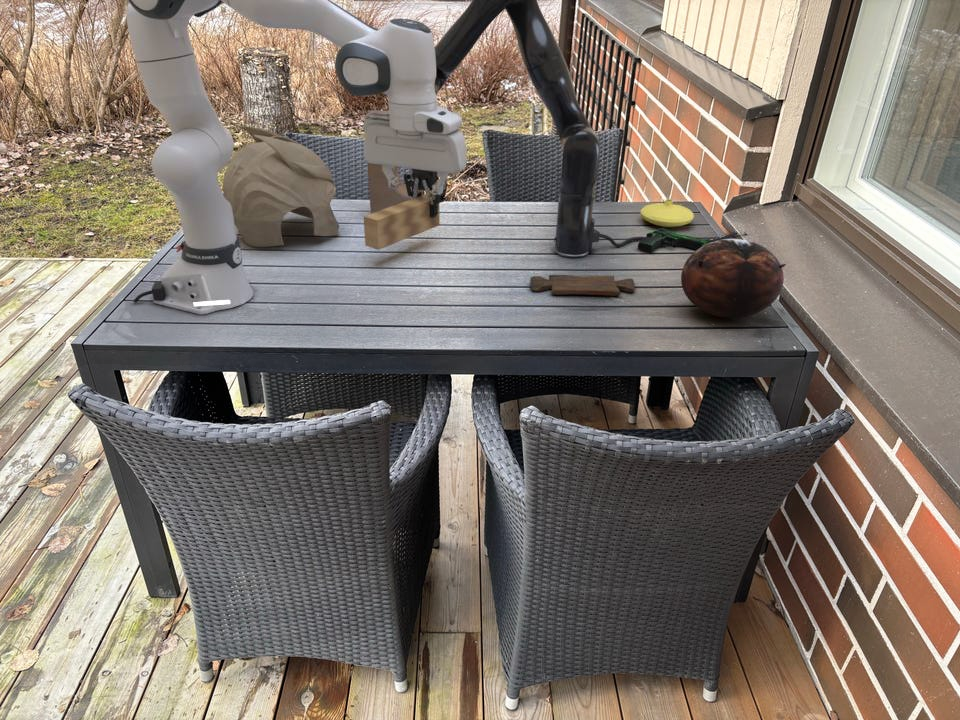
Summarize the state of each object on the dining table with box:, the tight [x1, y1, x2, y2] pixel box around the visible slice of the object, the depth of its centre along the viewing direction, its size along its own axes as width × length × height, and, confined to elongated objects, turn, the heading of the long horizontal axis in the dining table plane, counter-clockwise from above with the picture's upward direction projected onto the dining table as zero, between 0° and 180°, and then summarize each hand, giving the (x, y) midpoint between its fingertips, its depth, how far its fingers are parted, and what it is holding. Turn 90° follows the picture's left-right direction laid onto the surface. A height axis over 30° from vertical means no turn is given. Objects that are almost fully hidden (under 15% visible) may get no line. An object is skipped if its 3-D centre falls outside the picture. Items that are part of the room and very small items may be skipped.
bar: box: [363, 193, 441, 251], centre depth 189 cm, size 24×5×8 cm, turn 142°
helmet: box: [222, 125, 340, 248], centre depth 196 cm, size 27×30×30 cm
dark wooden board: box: [529, 274, 635, 297], centre depth 175 cm, size 26×2×10 cm
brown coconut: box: [680, 238, 787, 319], centre depth 162 cm, size 22×18×20 cm
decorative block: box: [364, 109, 424, 214], centre depth 212 cm, size 8×15×30 cm, turn 82°
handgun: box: [637, 227, 709, 254], centre depth 199 cm, size 16×3×15 cm
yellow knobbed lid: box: [640, 198, 695, 228], centre depth 215 cm, size 16×16×7 cm
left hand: (415, 190), depth 139 cm, fingers open, 8 cm apart
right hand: (425, 214), depth 195 cm, fingers closed on bar, 4 cm apart
